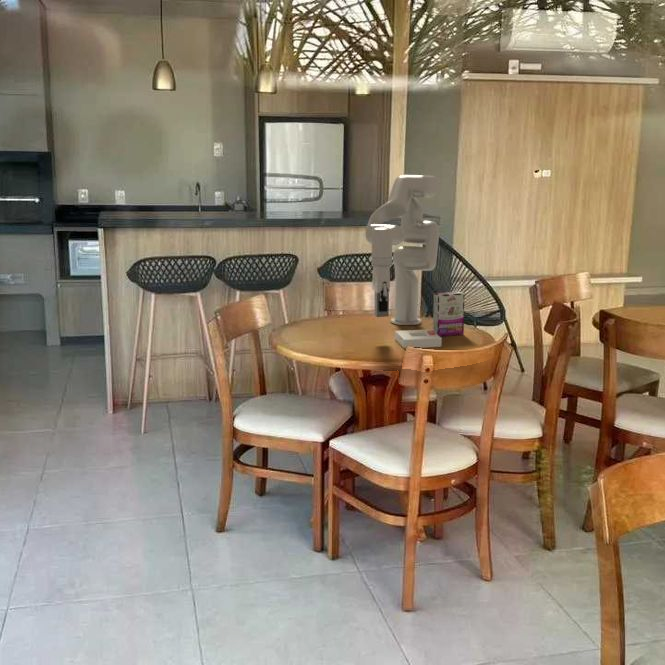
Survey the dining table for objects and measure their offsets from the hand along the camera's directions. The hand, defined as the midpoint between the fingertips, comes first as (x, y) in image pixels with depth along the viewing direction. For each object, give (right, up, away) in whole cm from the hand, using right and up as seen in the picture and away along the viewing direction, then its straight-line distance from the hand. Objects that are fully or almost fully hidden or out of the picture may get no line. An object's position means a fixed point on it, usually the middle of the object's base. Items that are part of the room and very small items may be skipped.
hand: (381, 309), depth 285 cm
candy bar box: (+26, -10, +12) cm, 31 cm away
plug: (0, -2, +1) cm, 2 cm away
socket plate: (+13, -12, -1) cm, 18 cm away
